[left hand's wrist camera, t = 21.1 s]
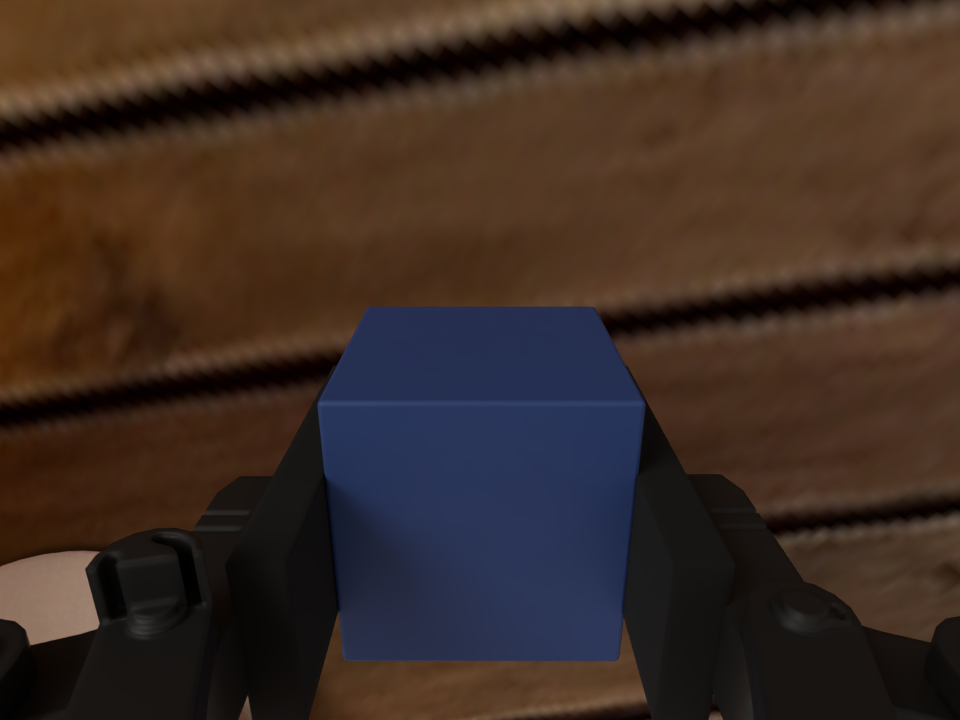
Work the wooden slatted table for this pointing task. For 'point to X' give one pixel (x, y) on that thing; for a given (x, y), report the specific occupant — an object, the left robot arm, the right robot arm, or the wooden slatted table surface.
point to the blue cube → (481, 484)
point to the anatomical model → (53, 598)
